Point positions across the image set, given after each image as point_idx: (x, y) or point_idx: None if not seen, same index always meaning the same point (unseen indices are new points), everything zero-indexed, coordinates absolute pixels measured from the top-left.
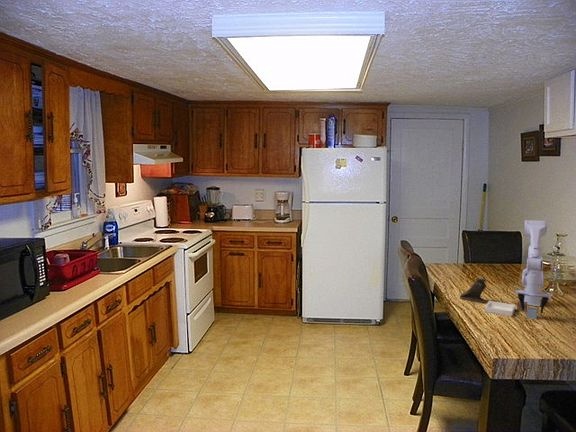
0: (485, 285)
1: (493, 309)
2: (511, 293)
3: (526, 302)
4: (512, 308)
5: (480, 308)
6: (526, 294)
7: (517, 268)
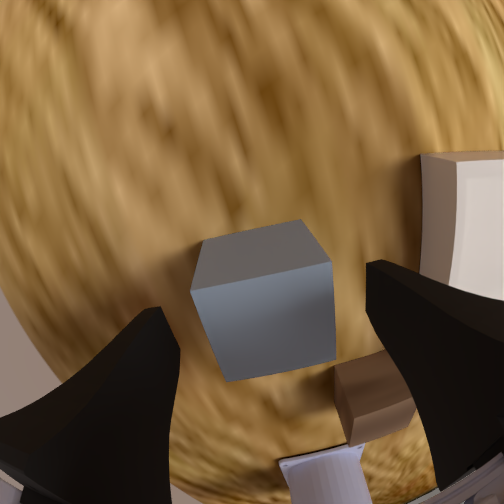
0: None
1: None
2: (393, 469)
3: (355, 440)
4: (456, 274)
5: None
6: (491, 501)
7: None
